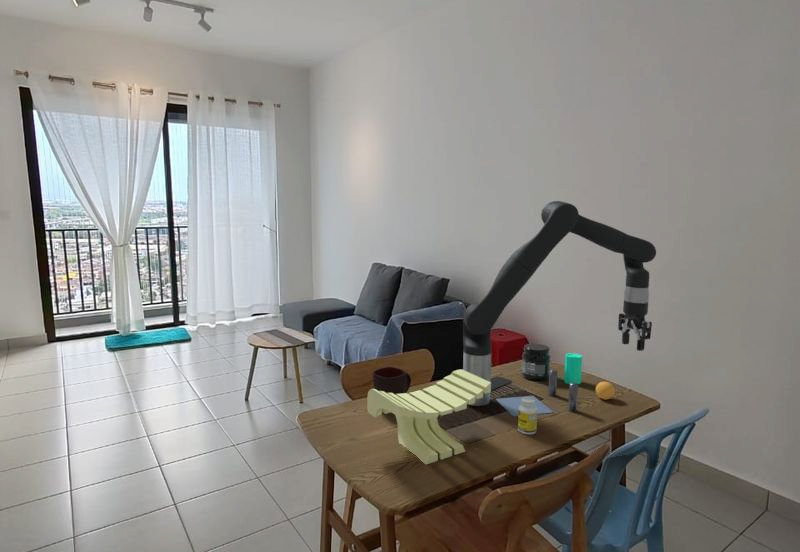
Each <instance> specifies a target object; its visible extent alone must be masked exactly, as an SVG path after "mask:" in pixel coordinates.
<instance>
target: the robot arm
mask: <svg viewBox="0 0 800 552" xmlns="http://www.w3.org/2000/svg"><path fill="white" fill-rule="evenodd" d="M540 217H541V220H542V223H543V226H541V228H540V230H539V231H538V232H537V233H536V234H535V236H533V237H532V238H530V239H529V241H527V242H525V243H524V244H523V245H521V246H520V247H518V249H516V250H514V252H513V253H512V254H511V255H510V256H509V258H508V259H507V260H506V261H505V262H504V264H503V265H502V267H501V268H500V269H499V271H498V273H497V276H496V277H495V279H494V281H493V284H492V285H491V288H490V289H489V291H488V293H487V294H486V295H485V296H484V297H483V299H481V300H480V301H479V302H478V303H477V302H476V303H472V304H470V305H468V306H467V308H465V309H464V312H463V316H462V317H463V318H462V321H463V322H462V342H463V343H462V344H463V345H462V346H463V355H462V356H463V358H462V359H463V360H462V362H463V363H462V365H463V366H462V370H464V371H466V372H469V373H471V374H473V375H475V376H478V377H480V378H482V379H484V380H487V381H489V382H490V380H491V378H492V377H491V375H492V370H491V369H492V340H491V330H492V328H493V327H494V325H495V324H496V322H497V321H498V320H499V318H500V316H501V315H502V313H503V311H504V310H505V308H506V307H507V306H508V304H509V303H510V302H511V301H512V300H513V299H514V298H515V297H516V296H517V294H519V292H520V291H521V290H522V289H523V287H524V286H525V285H526V284H527V283H528V281H529V280H530V279H531V278H532V277H533V275H534V274H535V273H536V271H537V270H538V268H540V266H541V265H542V263H543V262H544V261H545V260H546V259H547V257H548V256H549V254H550V253H552V251H553V249H554V248H555V247H556V246H557V245H558V244H559V243H560V242H561V241H562V240H564V238H565V237H566V236H567V235H568V234H569V233H571V234H574V235H577V236H579V237H581V238H583V239H585V240H587V241H589V242H591V243H593V244H596V245H598V246H600V247H602V248H604V249H606V250H608V251H611V252H613V253H617V254H622V256H623V263H624V269H625V272H626V277H625V287H624V288H625V289H624V292H623V309H622V312H623V313H619V314H618V325H617V330H618V331H620V332H621V334H622V336H621V342H622V344H623V345H629V344H630V336H631V335H630V333H631V331H632V330H633V332H634V334H635V335H636V337H637V339H636V340H637V341H636V350H637V351H644V350H645V345H646V344H645V343H646V340H650V339H651V335H652V326H653V322H652V321H647V320H646V319H645V317H646V316H647V315H648V313H649V299H650V291H649V290H650V288H649V287H650V272H649V271H648V270H647V269H646V268H645V267H644V263H645V264H646V263H650V262H652V261H653V260H654V259H655V258H656V255H657V249H656V247H655V245H654V244H653V243H651V242H650V241H648V240H646V239H642V238H640V237H637V236H634V235H630V234H627V233H625V232H624V231H622V230H620V229H617V228H615V227H612V226H610V225H608V224H605V223H603V222H602V223H601V222H598V221H595V220H593V219H590V218H587V217H585V216H583V215H580V213H579V211H578V208H577V207H576V205H573V204H571V203H569V202H566V201H562V200H561V201H560V200H554V201H550V202H547V204H545V205H544V207H543V208H542V210H541V212H540ZM490 400H491V392H490V393H486V394H485V393H483V398H480V399H477V398H475V403H473V404H468V403H467V406H472V407H473V406H474V407H475V406H476V407H482V406H486V405H489V404H490V403H491V401H490Z"/></svg>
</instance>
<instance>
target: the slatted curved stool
mask: <svg viewBox="0 0 800 552" xmlns="http://www.w3.org/2000/svg"><path fill="white" fill-rule="evenodd" d="M491 392H492V391H491V382H489V381H487V380H484V379H482V378H480V377H478V376H475V375H473V374H471V373H469V372H466V371H464V370H463V368H461V369H456V370H453V371H452V372H451V373H450V374H449V375H447V376H445V377H443V378H442V380H438V381H436V382H435V384H433V385H431V386H427V387H425V388H422V390H421V389H419V390H416V391H412V392H407V393H402V394H396V395H395V394H393V393H385V392H384V391H377V390H376V389H374V388H370V389H369V390H368V392H367V398H366V399H367V400H366V403H367V413H368V414H370V416H372V417H374V418H378V417H379V416H381V415H383V414H384V415H385V414H390V413H392V414H393V415H395V418H396V419H395V420H396V423H397V439H398V443H399V445H400V444H402V445H403V446H404V447H406V448H407V449H408V450H409V451H410V452H412V453H413V454H415V455H416V456H417V457H418V458H419V459H420V462H422V463H423V464H424V465H428V464H432V463H435V462H437V461H439V460H440V461H441V460H444V459H446V458H450V457H453V455H458V454H461V453H466V450H465V447H464V445H463V444H461V443H460V442H458V441H457V440H455V439H454V438H452V437H451V436H450V435H449V434H447V433H446V432H445V431H444V429H442V428H441V426H440V424H439V422H438V417H439V416H445V415H449V414H452V413H453V411H454V412H459V411H463V410H466V409H467V407H468V405H467V403H468V404H473V403H475V398H477V399H480V398H483V393H485V394H486V393H490V394H491ZM467 410H468V409H467ZM403 446H402V447H403ZM404 447H403V448H404ZM407 449H406V450H407ZM408 450H407V451H408ZM409 451H408V452H409ZM410 452H409V453H410ZM412 453H411V454H412ZM413 454H412V455H413ZM416 456H415V457H416ZM417 457H416V458H417ZM418 458H417V459H418ZM419 459H418V460H419Z"/></svg>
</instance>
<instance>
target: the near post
mask: <svg viewBox="0 0 800 552" xmlns="http://www.w3.org/2000/svg"><path fill="white" fill-rule="evenodd" d="M568 391H569V392H568V407H567V408H568V411H569V412H570V413H577V411H578V397H579V396H578V395H579V385H578V384H577V383H574V382H572V383H570V384H569V390H568Z"/></svg>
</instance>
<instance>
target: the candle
mask: <svg viewBox="0 0 800 552" xmlns="http://www.w3.org/2000/svg"><path fill="white" fill-rule="evenodd" d="M564 357H565V359H564V376H563V377H564V379H563V382H564V383H565V384H568V385H570V383H572V382H574V383H577V384H579V385H581V384H582V368H583V355H582V354H581V355H580V354H579V353H572V352H568V353H566V354H565V356H564ZM580 383H581V384H580Z"/></svg>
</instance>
